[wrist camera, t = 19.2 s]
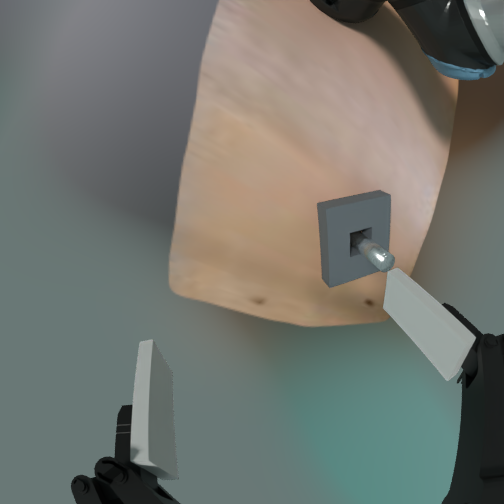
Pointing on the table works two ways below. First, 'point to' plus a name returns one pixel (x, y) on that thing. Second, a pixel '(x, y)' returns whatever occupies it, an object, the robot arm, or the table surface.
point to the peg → (372, 251)
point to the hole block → (345, 222)
